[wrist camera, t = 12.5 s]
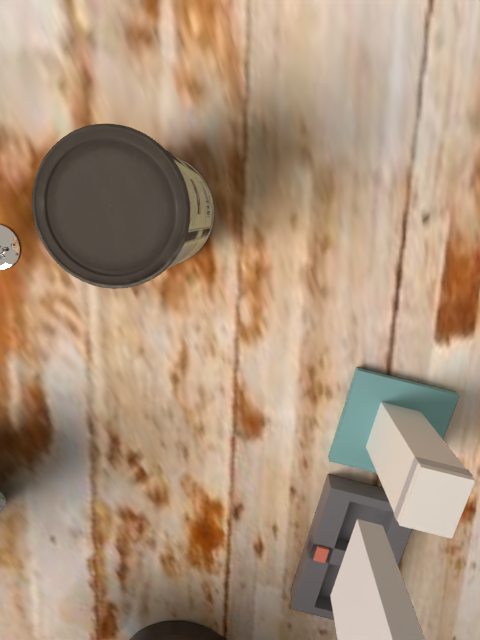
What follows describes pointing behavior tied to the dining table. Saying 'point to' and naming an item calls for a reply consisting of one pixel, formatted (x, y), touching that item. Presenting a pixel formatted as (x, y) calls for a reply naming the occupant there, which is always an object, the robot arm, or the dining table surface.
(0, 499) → the lunch box
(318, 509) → the power strip
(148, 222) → the coffee can
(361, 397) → the pad
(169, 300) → the dining table surface
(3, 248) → the wineglass
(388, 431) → the block
